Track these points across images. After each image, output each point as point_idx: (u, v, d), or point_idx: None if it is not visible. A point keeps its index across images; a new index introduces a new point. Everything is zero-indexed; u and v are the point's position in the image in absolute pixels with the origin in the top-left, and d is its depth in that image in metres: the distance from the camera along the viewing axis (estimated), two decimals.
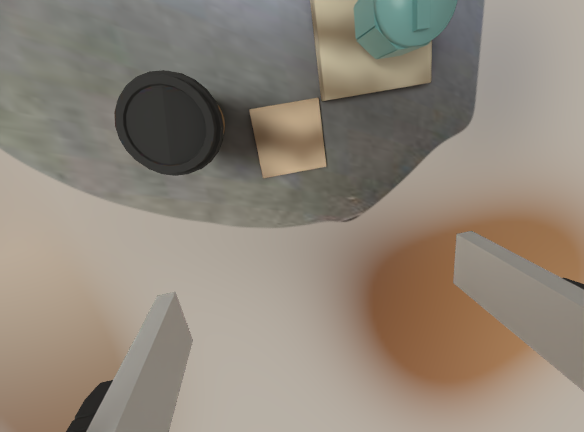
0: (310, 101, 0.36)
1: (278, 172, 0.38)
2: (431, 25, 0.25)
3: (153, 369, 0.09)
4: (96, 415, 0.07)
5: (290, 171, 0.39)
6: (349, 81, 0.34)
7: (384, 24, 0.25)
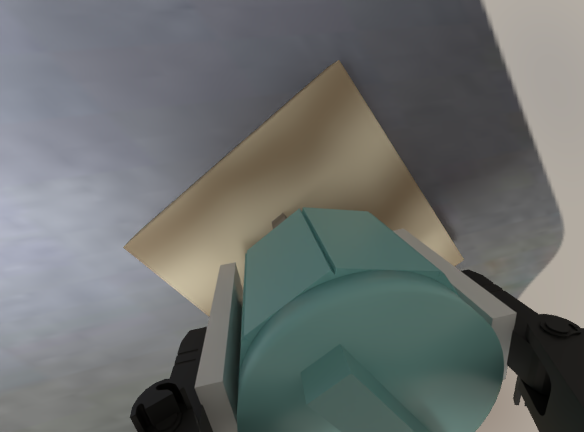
0: None
1: None
2: (450, 423, 0.08)
3: (234, 319, 0.11)
4: (204, 346, 0.09)
5: None
6: None
7: None
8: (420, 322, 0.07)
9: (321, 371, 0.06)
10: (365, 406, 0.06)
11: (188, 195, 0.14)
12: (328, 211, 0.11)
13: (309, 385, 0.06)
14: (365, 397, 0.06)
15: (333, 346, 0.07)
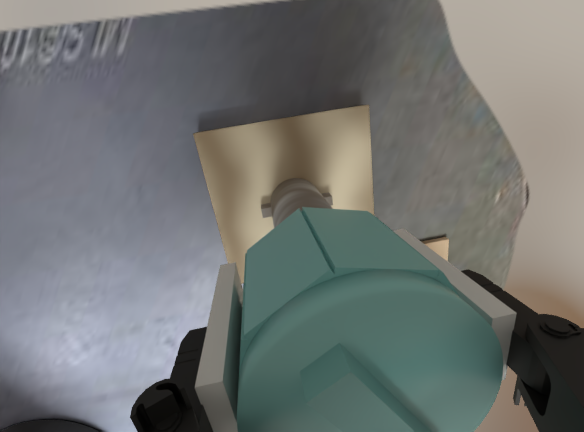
0: None
1: None
2: (450, 422, 0.08)
3: (234, 319, 0.11)
4: (204, 346, 0.09)
5: None
6: None
7: None
8: (418, 321, 0.07)
9: (320, 370, 0.06)
10: (365, 405, 0.06)
11: (224, 243, 0.25)
12: (328, 211, 0.12)
13: (308, 384, 0.06)
14: (364, 396, 0.06)
15: (332, 345, 0.07)
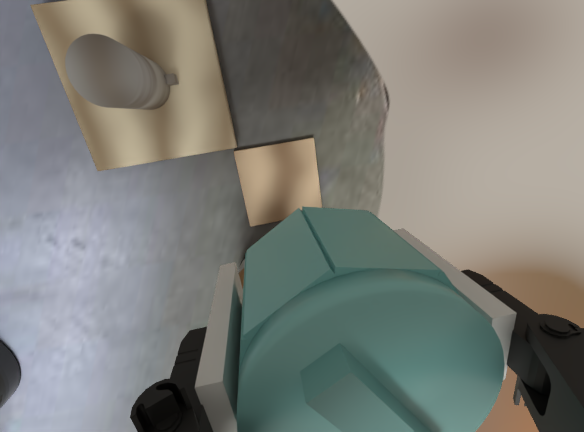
0: (238, 161, 0.31)
1: (317, 196, 0.33)
2: (451, 422, 0.08)
3: (234, 319, 0.11)
4: (204, 346, 0.09)
5: (317, 182, 0.33)
6: (211, 116, 0.28)
7: None
8: (419, 321, 0.07)
9: (320, 370, 0.06)
10: (365, 406, 0.06)
11: (81, 125, 0.26)
12: (328, 210, 0.11)
13: (308, 384, 0.06)
14: (365, 396, 0.06)
15: (332, 345, 0.07)
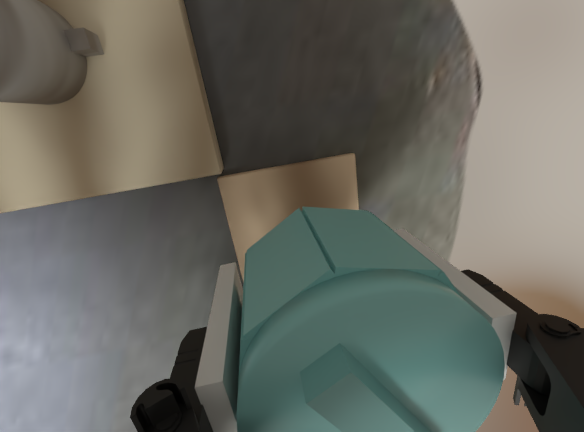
0: (225, 194, 0.18)
1: None
2: (451, 423, 0.08)
3: (234, 319, 0.11)
4: (204, 346, 0.09)
5: None
6: (172, 118, 0.15)
7: None
8: (420, 321, 0.07)
9: (321, 370, 0.06)
10: (365, 406, 0.06)
11: None
12: (328, 210, 0.11)
13: (309, 384, 0.06)
14: (365, 396, 0.06)
15: (332, 346, 0.07)
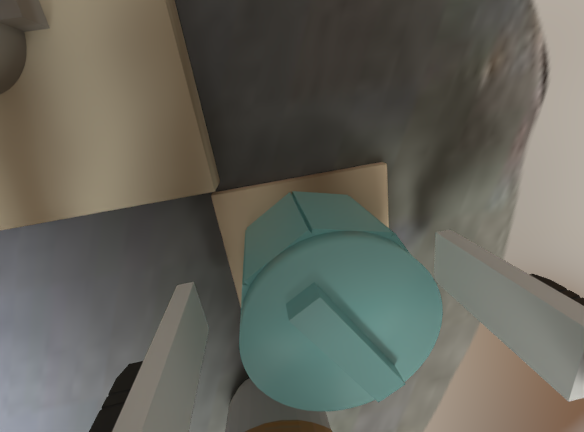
0: (222, 215, 0.14)
1: None
2: (404, 352, 0.11)
3: (179, 351, 0.10)
4: (132, 390, 0.08)
5: None
6: (148, 117, 0.11)
7: (303, 406, 0.11)
8: (373, 266, 0.09)
9: (300, 300, 0.09)
10: (332, 324, 0.09)
11: None
12: (313, 194, 0.14)
13: (291, 309, 0.09)
14: (331, 317, 0.09)
15: (309, 284, 0.09)
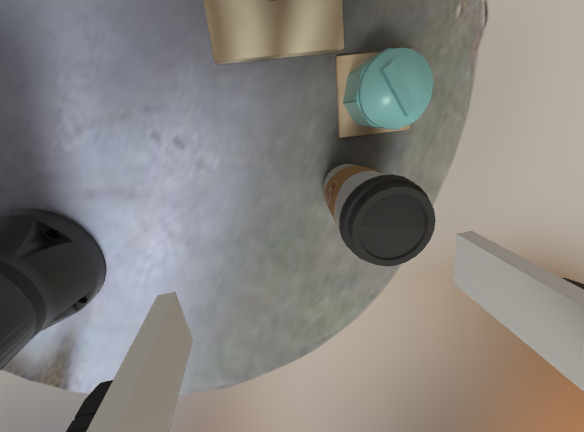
0: (339, 66, 0.32)
1: None
2: (418, 102, 0.28)
3: (153, 369, 0.09)
4: (96, 415, 0.07)
5: None
6: (326, 13, 0.29)
7: (378, 124, 0.29)
8: (410, 58, 0.27)
9: (385, 66, 0.27)
10: (396, 73, 0.27)
11: (207, 11, 0.28)
12: None
13: (383, 68, 0.27)
14: (396, 70, 0.26)
15: (388, 63, 0.27)
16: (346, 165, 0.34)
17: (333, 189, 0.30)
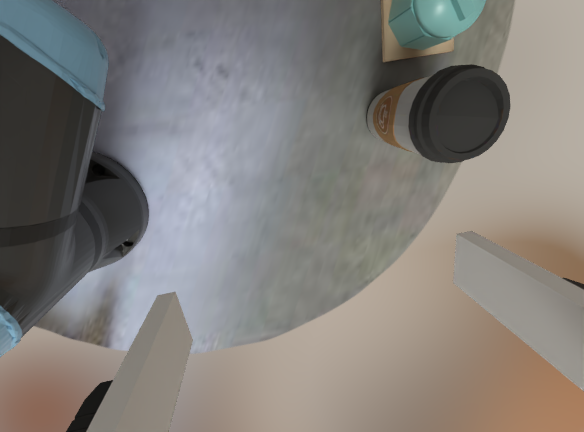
0: None
1: None
2: (473, 5, 0.28)
3: (153, 368, 0.09)
4: (96, 415, 0.07)
5: None
6: None
7: (434, 30, 0.28)
8: None
9: None
10: None
11: None
12: None
13: None
14: None
15: None
16: None
17: (389, 102, 0.30)
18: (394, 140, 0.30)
